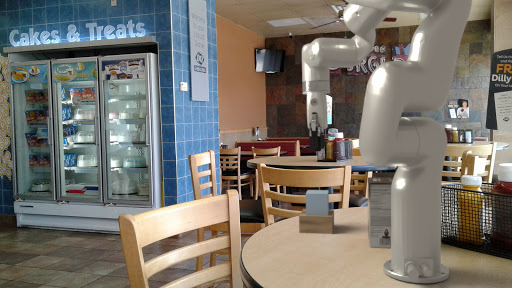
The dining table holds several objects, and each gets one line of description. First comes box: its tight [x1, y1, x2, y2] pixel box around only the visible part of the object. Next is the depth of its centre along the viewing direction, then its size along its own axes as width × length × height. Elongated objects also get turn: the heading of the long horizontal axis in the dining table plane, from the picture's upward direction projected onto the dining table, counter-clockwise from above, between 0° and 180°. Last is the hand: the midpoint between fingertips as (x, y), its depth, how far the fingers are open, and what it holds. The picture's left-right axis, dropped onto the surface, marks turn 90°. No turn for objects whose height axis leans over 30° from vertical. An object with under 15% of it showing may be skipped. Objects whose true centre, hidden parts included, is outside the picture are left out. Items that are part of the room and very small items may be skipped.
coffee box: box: [367, 176, 394, 249], centre depth 113 cm, size 9×6×16 cm
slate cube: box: [305, 189, 330, 216], centre depth 127 cm, size 6×6×6 cm
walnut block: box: [298, 208, 335, 235], centre depth 128 cm, size 9×9×5 cm
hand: (317, 149), depth 127 cm, fingers open, 9 cm apart
